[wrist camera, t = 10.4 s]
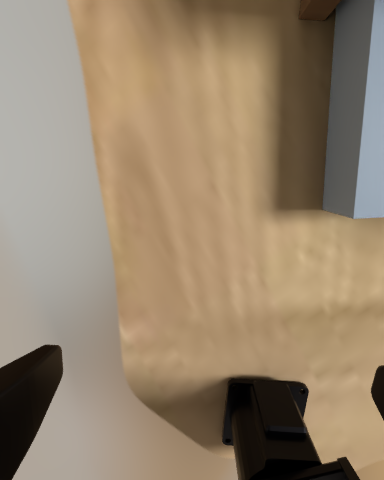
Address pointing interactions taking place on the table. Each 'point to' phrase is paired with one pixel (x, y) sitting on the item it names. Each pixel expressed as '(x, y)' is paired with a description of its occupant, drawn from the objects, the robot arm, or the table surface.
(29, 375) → the robot arm
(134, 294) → the table surface
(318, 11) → the wooden arch
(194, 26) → the table surface
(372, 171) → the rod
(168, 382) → the table surface
